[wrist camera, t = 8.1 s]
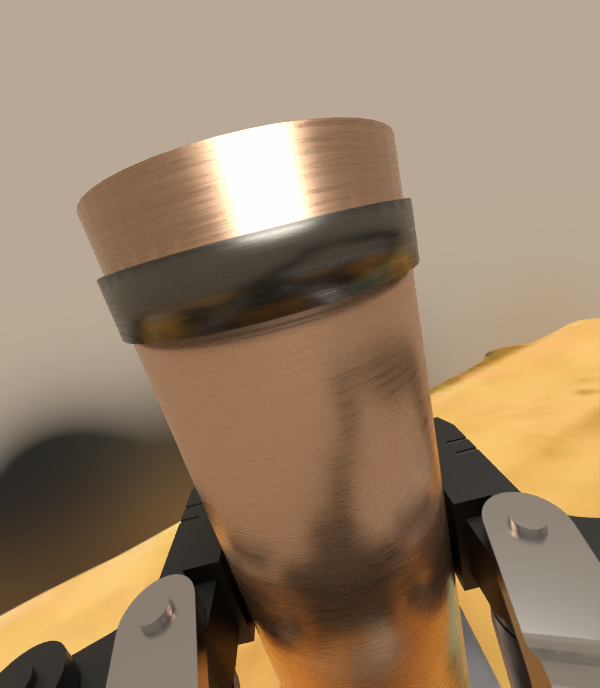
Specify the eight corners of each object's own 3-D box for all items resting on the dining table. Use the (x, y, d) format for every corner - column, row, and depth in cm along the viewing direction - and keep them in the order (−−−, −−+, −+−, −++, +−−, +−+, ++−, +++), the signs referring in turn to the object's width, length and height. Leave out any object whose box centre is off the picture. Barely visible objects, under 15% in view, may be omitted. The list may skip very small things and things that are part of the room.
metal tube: (438, 647, 12) (356, 181, 7) (535, 890, 7) (489, 57, 2) (318, 676, 12) (155, 234, 7) (340, 936, 7) (-63, 206, 3)
